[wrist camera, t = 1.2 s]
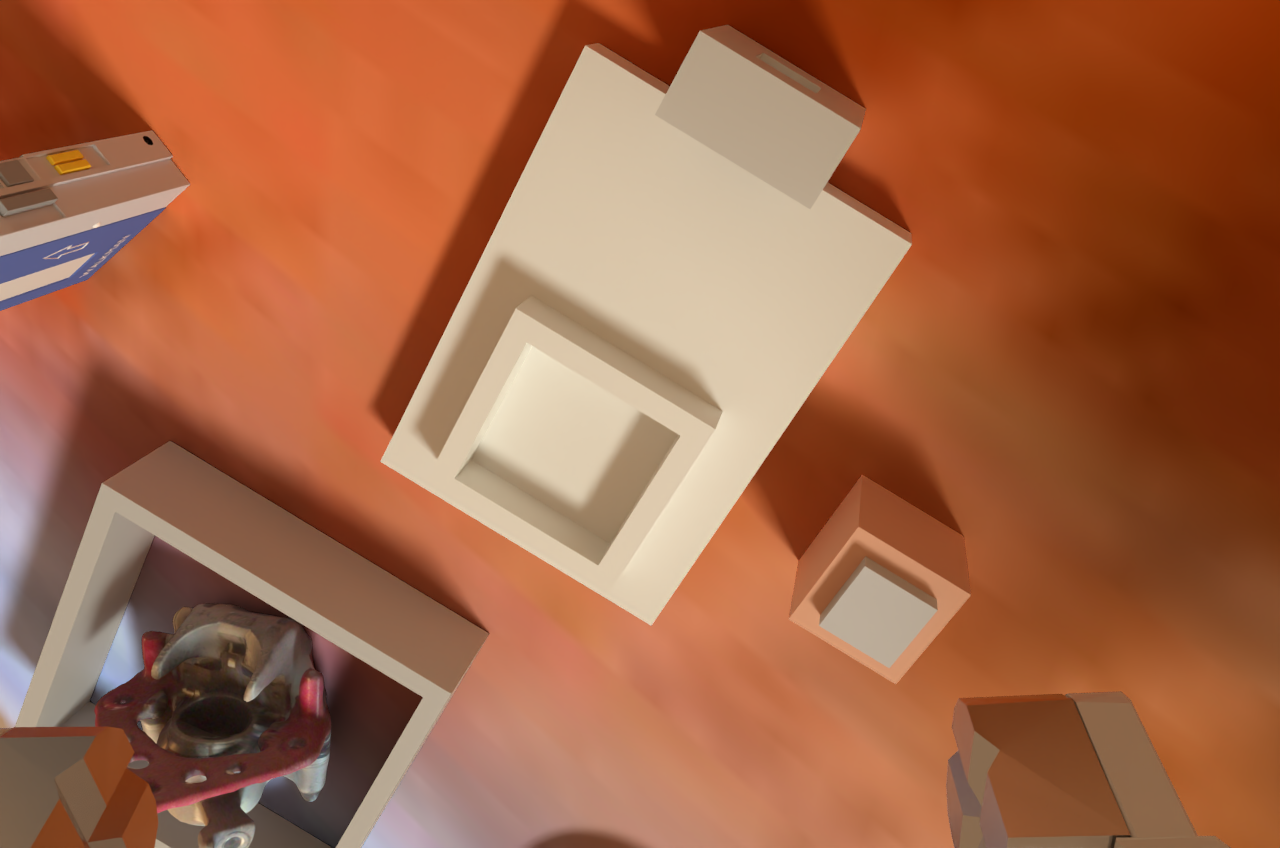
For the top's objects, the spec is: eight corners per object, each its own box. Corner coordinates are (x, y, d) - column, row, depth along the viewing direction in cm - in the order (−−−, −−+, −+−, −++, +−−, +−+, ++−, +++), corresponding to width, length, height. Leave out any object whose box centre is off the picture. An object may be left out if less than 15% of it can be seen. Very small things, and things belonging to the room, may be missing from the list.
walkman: (89, 280, 51) (-132, 359, 40) (48, 230, 50) (-188, 297, 39) (196, 182, 48) (-12, 238, 37) (153, 128, 47) (-69, 169, 36)
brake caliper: (343, 606, 51) (235, 872, 46) (396, 678, 61) (313, 906, 55) (125, 555, 53) (-6, 805, 47) (210, 633, 63) (110, 850, 57)
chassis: (957, 164, 41) (967, 193, 35) (660, 602, 50) (629, 682, 45) (635, -32, 41) (592, -35, 35) (398, 444, 50) (334, 504, 45)
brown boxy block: (963, 535, 46) (972, 605, 41) (895, 618, 48) (895, 695, 43) (862, 473, 46) (857, 536, 41) (798, 560, 48) (786, 629, 43)
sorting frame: (489, 633, 53) (451, 693, 49) (347, 871, 61) (302, 942, 56) (170, 440, 53) (101, 482, 48) (69, 704, 61) (2, 761, 56)
